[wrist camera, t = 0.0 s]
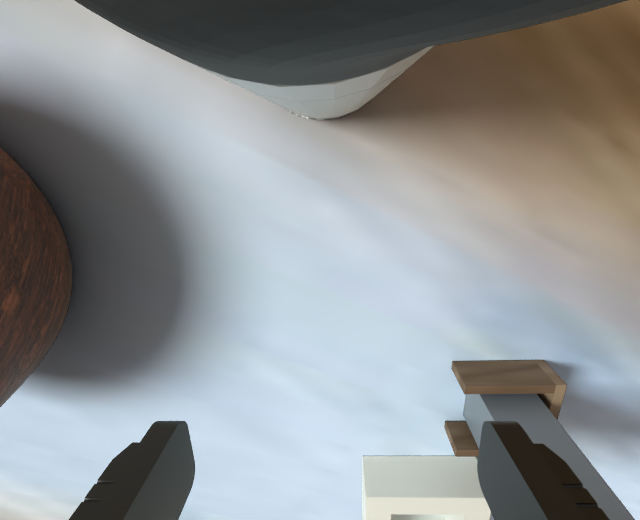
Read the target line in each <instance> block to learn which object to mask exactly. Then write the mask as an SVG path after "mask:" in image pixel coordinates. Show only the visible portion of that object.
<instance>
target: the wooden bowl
mask: <svg viewBox="0 0 640 520" xmlns="http://www.w3.org/2000/svg"><path fill="white" fill-rule="evenodd" d="M72 281H73V275H72V263H71V256H70V252H69V248H68V244H67V241H66V238H65V235H64V232H63V230H62V228H61V225H60V223H59V221H58V219H57V217H56V215H55V213H54V211H53V209H52V208H51V206H50V204H49V203H48V201H47V199H46V198H45V196H44V195H43V193H42V192H41V191H40V189H39V188H38V187H37V185H36V184H35V183H34V181H33V180H32V179H31V178H30V177H29V175H28V174H27V173H26V172H25V171H24V170H23V169H22V168H21V166H20V165H19V164H18V163H17V162H16V161H14V160H13V159H12V158H11V157H10V156H9V155H8V154H7V153H6V152H5V151H4V150H3V149H1V148H0V407H1V406H2V405H3V404H4V403H5V402H6V401H7V400H8V399H9V398H10V397H11V395H12V394H13V393H14V392H15V391H16V390H17V389H18V388H19V387H20V386H21V385H22V384H23V382H24V381H25V380H26V379H27V378H28V377H29V376H30V375H31V373H32V372H33V371H34V370H35V368H36V367H37V366H38V365H39V363H40V362H41V361H42V359H43V358H44V356H45V355H46V354H47V352H48V351H49V349H50V347H51V346H52V344H53V342H54V341H55V339H56V337H57V335H58V333H59V331H60V329H61V327H62V324H63V322H64V319H65V317H66V314H67V311H68V308H69V302H70V297H71V292H72Z"/></svg>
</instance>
